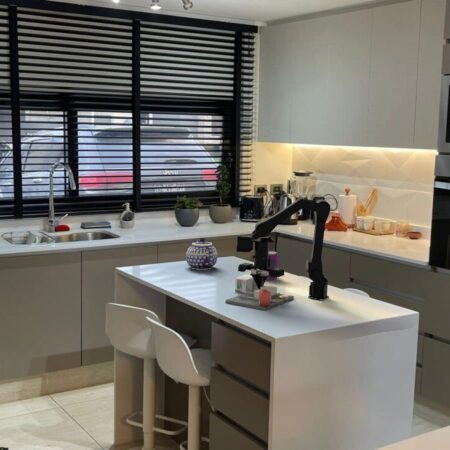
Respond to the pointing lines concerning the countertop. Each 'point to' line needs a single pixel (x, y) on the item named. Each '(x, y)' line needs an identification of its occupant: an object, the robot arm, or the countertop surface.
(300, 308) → the countertop surface
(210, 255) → the teapot
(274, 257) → the beverage can
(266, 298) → the lockout cap
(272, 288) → the breaker
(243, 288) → the syrup box
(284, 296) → the panel
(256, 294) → the block
